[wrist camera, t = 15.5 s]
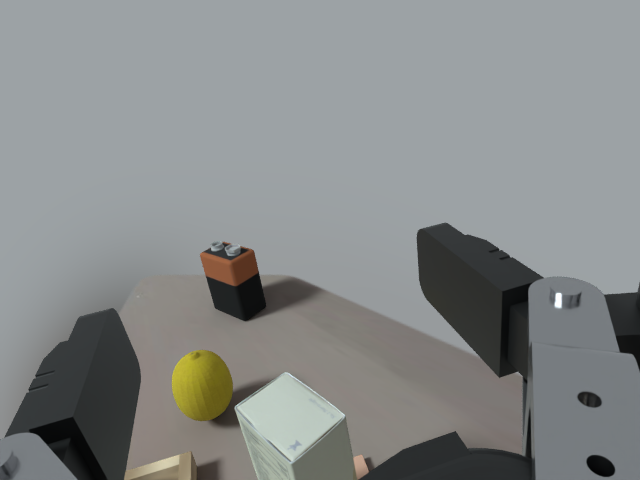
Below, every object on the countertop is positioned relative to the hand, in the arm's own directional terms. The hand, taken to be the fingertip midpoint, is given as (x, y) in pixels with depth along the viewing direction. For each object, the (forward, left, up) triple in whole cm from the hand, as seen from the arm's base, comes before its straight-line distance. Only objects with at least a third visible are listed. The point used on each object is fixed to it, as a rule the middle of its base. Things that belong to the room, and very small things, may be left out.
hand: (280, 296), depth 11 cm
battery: (+3, -44, -27) cm, 52 cm away
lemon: (+7, -25, -27) cm, 38 cm away
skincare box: (0, -10, -26) cm, 28 cm away
